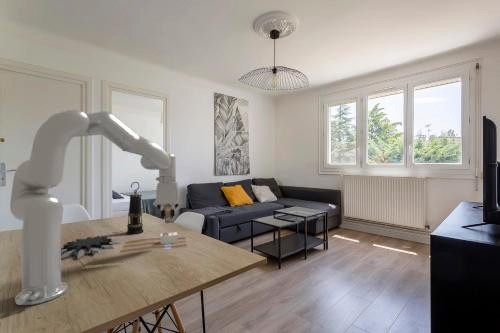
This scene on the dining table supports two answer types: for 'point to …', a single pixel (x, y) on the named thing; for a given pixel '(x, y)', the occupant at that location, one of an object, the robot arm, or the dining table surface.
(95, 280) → the dining table surface
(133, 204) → the lantern
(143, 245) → the floor panel
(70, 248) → the decorative piece
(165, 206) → the awl
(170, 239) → the block
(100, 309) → the dining table surface
